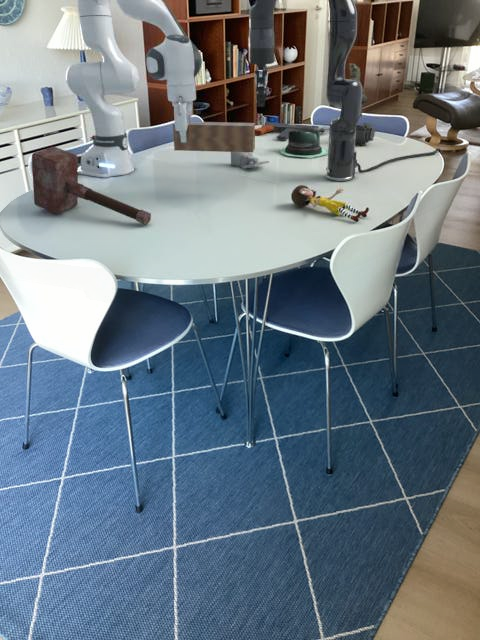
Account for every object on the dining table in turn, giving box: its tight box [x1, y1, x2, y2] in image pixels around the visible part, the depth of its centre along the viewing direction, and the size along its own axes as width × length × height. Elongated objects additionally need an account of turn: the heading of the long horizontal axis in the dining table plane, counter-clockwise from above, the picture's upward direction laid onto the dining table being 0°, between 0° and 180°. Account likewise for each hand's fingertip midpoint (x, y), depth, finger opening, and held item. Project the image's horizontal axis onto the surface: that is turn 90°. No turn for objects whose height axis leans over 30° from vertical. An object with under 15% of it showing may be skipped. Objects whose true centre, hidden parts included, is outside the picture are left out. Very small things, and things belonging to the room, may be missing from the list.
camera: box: [230, 152, 270, 169], centre depth 214 cm, size 9×12×15 cm
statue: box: [348, 62, 368, 125], centre depth 262 cm, size 11×9×30 cm
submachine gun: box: [255, 121, 326, 141], centre depth 264 cm, size 32×3×25 cm
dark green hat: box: [279, 128, 328, 159], centre depth 234 cm, size 15×19×20 cm
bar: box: [172, 121, 256, 153], centre depth 177 cm, size 26×5×8 cm, turn 81°
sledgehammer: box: [31, 146, 152, 226], centre depth 169 cm, size 17×10×40 cm
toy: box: [355, 122, 376, 146], centre depth 244 cm, size 9×9×15 cm
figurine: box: [290, 184, 370, 223], centre depth 170 cm, size 13×8×25 cm
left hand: (184, 139), depth 179 cm, fingers closed on bar, 5 cm apart
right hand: (261, 104), depth 171 cm, fingers open, 8 cm apart
